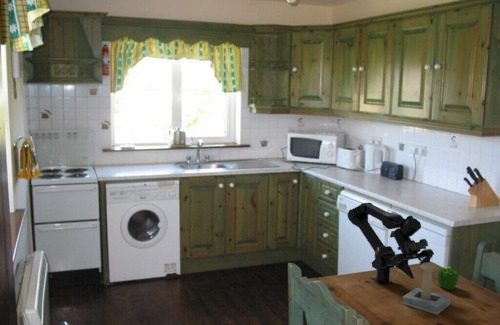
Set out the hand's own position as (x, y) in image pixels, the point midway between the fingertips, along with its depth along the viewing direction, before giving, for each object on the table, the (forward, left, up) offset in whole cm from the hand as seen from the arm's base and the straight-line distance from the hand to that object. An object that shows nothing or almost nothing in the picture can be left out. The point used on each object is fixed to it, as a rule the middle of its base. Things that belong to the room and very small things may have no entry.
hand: (421, 276), depth 201 cm
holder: (+3, +1, -10) cm, 11 cm away
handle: (+3, +1, -9) cm, 10 cm away
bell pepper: (-10, +19, -10) cm, 24 cm away
